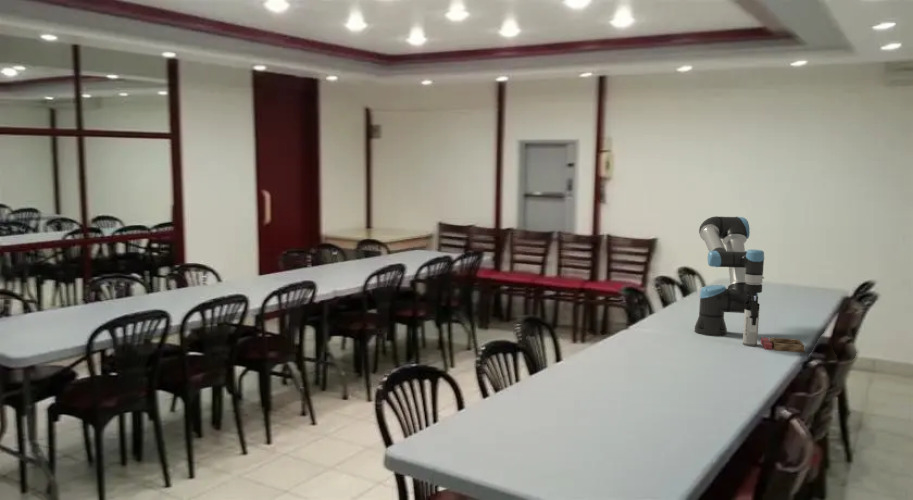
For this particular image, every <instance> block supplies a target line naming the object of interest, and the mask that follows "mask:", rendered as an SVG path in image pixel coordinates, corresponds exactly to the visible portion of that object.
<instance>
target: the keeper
mask: <svg viewBox="0 0 913 500" xmlns="http://www.w3.org/2000/svg"><path fill="white" fill-rule="evenodd" d="M769 340H770V342H771V343H772V350H773V351H775V352H776V351H777V352H790V353H806V350H805V344H804V343H803V342H802V341H801V340H800V339H797V338H796V339H795V338H781V337H770V338H769Z"/></svg>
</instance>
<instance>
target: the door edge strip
mask: <svg viewBox="0 0 913 500" xmlns="http://www.w3.org/2000/svg"><path fill="white" fill-rule="evenodd" d="M760 344H761V346H762V345H763V346H762V348H763V349H764V350H766V351H767V350H768V351H772V350H773V349H772V343H771V342H770V338H768V337H760Z"/></svg>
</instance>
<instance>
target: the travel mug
mask: <svg viewBox="0 0 913 500" xmlns="http://www.w3.org/2000/svg"><path fill="white" fill-rule="evenodd" d="M743 315H744V316H743V317H744V318H743V330H742V332H743V333H742V334H743V335H742V345H744V346H745V347H757V346H758V339H759V338H758V337H759V336H758V335H759V322H760V321H759V320H760V303H759V302H758V318H757V330H756V332H750V319H751V318H749V317H750V316H751V306H750V305H749V302H746V303H745V313H743Z"/></svg>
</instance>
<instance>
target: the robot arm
mask: <svg viewBox="0 0 913 500" xmlns="http://www.w3.org/2000/svg"><path fill="white" fill-rule="evenodd" d="M698 233H699V237H700V239H702V241H704V243H705V245H706V247H707V251H708V254H707V264H708V266H710V267H713V268H714V267H715V268H728V275H729V283H730V284H729V285H728V286H727V287H726V286H725V285H722V284H712V285H706V286H703V287H701V288H700V292H699V308H698V310H699V311H698V318H697V321H696V322H695V325H694V332H695V333H697V334H701V335H702V336H703V335H704V336H712V337H713V336H714V337H715V336H716V337H719V336H726V335H727V334H728V328H727V325H726V321H725V313H731V314H732V313H734V314H735V313H736V314H737V313H738V314H744V313H745V303H746V302H749V305H750V306H751V316H750V317H749V318H751V319H750V332H756V330H757V318H758V303H759V294H760V293H762V292H763V280H764V279H765V276H764V264H765V263H764V261H765V252H764V251H763V250H761V249H747V250H745V249H746V248H745V244H746V242H747V240H748V239H749V238H750V224H749V221H748V220H747V218H745V217H744V216H743V217H742V216H717V215H716V216H712V217H709V218H707V219H705V220H704V221H703V222H702V223H701V225H700V226H699V230H698ZM725 246H726V247H725Z"/></svg>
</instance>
